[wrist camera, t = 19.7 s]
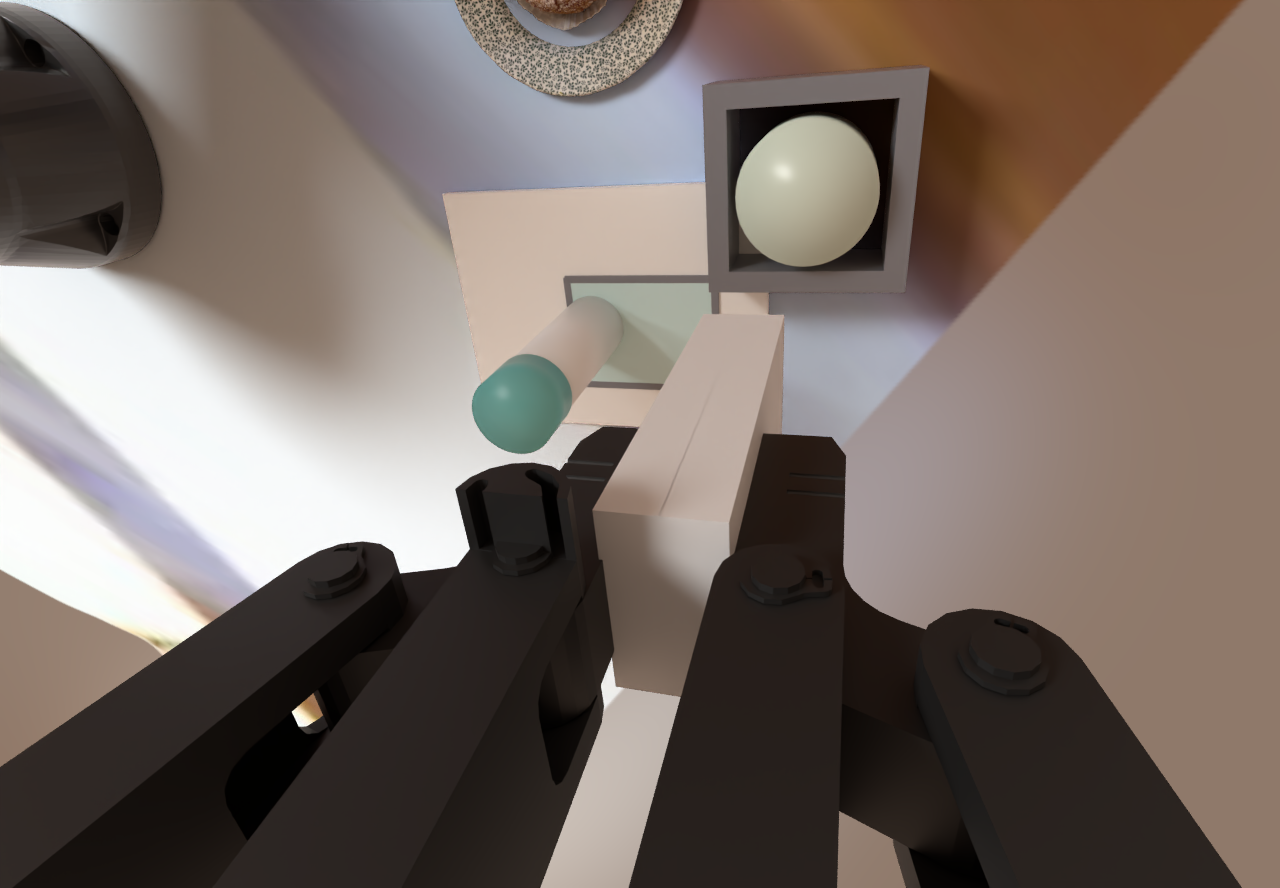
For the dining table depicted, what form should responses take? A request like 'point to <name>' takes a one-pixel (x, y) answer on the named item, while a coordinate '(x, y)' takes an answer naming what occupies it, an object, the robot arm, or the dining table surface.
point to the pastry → (568, 67)
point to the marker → (547, 376)
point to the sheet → (591, 279)
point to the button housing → (723, 168)
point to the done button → (808, 189)
